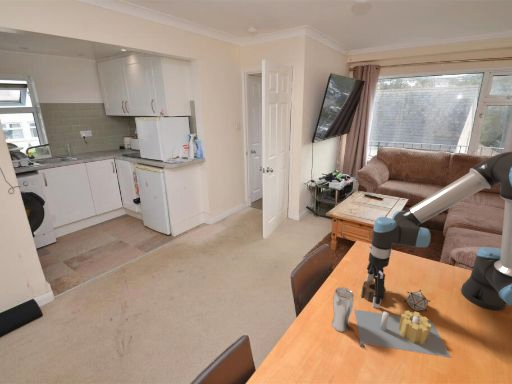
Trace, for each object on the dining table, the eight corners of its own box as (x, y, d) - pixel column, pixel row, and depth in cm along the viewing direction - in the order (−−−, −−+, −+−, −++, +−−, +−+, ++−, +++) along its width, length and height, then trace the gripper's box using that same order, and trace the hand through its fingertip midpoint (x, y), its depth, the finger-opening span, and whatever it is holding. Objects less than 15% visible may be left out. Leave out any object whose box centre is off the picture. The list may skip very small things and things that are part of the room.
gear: (414, 321, 100) (417, 309, 98) (433, 341, 92) (437, 328, 90) (393, 325, 99) (395, 312, 97) (411, 346, 90) (414, 332, 88)
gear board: (430, 323, 101) (435, 305, 99) (450, 361, 87) (456, 341, 84) (353, 312, 107) (356, 295, 104) (360, 346, 92) (363, 327, 89)
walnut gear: (380, 293, 118) (382, 281, 116) (386, 307, 109) (388, 295, 107) (359, 290, 119) (361, 279, 117) (363, 304, 111) (364, 292, 109)
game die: (418, 319, 108) (436, 314, 100) (399, 310, 109) (415, 304, 101) (418, 298, 114) (435, 291, 106) (399, 289, 114) (415, 282, 106)
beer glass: (337, 335, 96) (341, 301, 92) (327, 320, 103) (330, 288, 98) (353, 330, 98) (358, 297, 93) (343, 317, 105) (347, 285, 100)
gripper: (364, 238, 120) (358, 278, 126) (376, 271, 97) (368, 317, 103) (382, 240, 118) (374, 280, 125) (398, 273, 95) (389, 320, 102)
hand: (372, 297), depth 114 cm, fingers open, 13 cm apart
